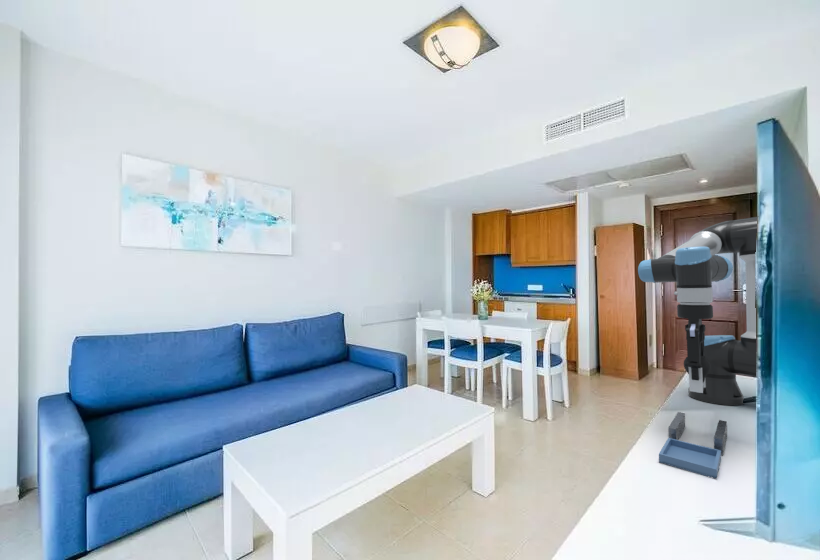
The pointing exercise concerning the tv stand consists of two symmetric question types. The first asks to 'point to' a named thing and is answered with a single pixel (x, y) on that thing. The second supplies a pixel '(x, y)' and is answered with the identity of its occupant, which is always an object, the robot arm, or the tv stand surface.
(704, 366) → the black round speckled part
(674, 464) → the parts tray
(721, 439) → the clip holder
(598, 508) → the tv stand surface
